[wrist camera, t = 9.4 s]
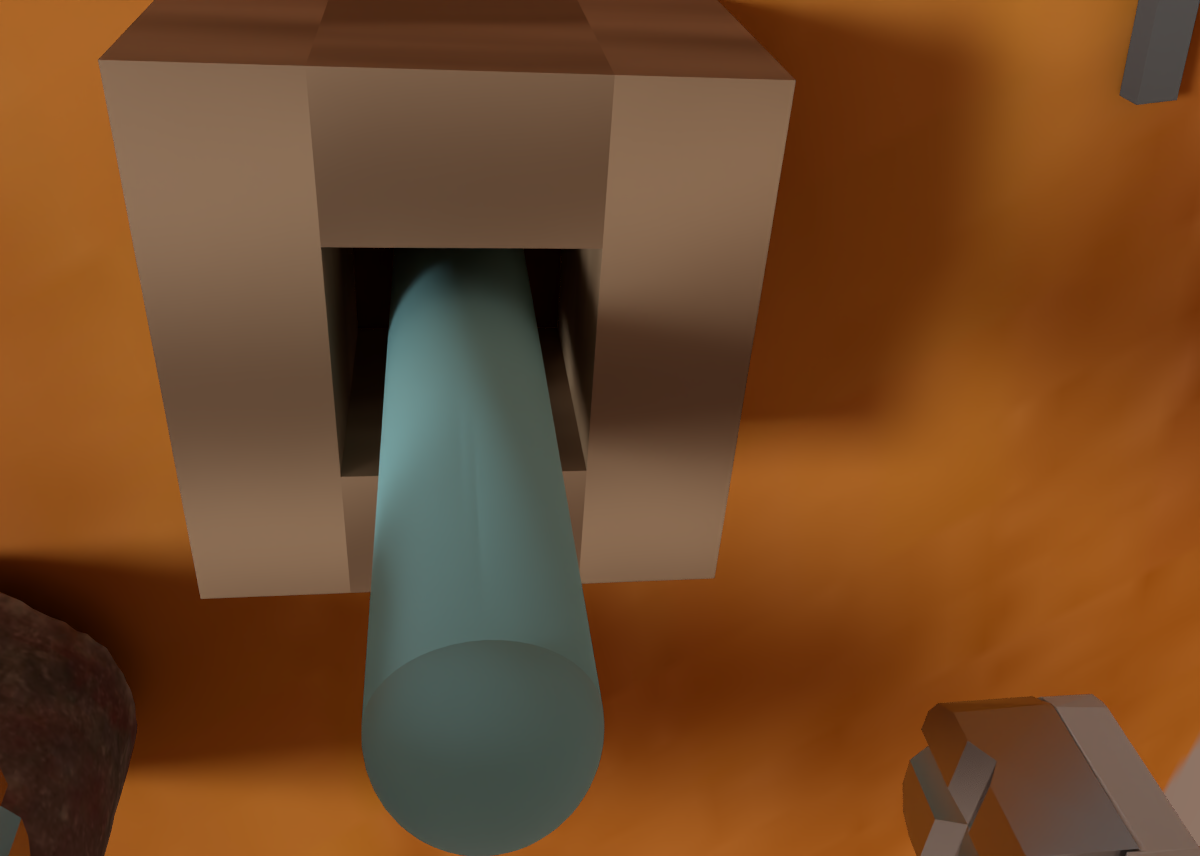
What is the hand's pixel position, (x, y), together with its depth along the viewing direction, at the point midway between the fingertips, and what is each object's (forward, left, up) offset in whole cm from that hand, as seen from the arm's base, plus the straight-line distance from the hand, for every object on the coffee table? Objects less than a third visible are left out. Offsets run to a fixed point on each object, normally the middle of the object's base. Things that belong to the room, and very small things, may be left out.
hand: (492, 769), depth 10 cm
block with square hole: (+1, 0, -13) cm, 13 cm away
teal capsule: (+1, 0, -13) cm, 13 cm away
